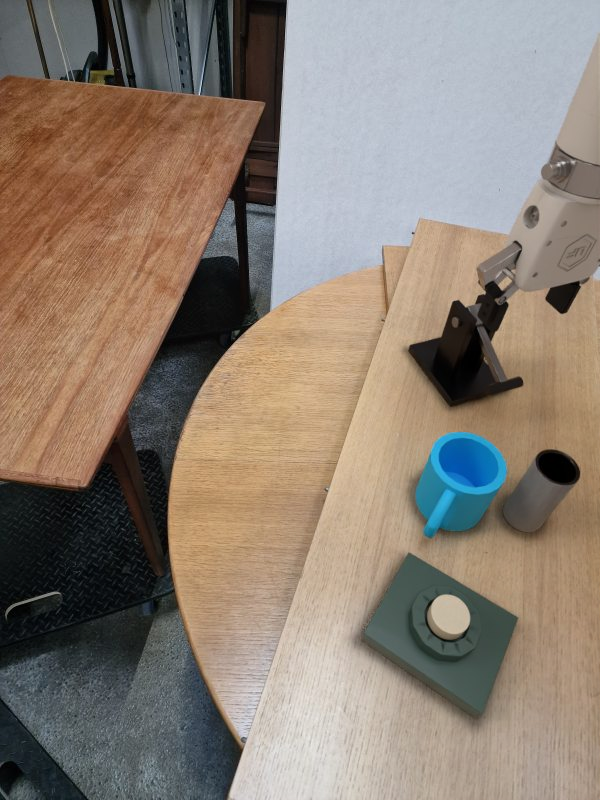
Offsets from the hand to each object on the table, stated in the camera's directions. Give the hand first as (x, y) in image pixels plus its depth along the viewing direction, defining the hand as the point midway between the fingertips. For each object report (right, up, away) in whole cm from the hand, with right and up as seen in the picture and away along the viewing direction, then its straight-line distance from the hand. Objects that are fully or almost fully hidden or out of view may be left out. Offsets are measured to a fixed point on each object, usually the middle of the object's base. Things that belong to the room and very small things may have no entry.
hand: (521, 315), depth 60 cm
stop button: (-12, -31, -11) cm, 35 cm away
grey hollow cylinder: (0, -24, +1) cm, 24 cm away
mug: (-9, -23, +1) cm, 25 cm away
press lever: (-1, -3, +9) cm, 10 cm away
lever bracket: (-3, -5, +17) cm, 18 cm away
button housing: (-12, -33, -8) cm, 36 cm away
